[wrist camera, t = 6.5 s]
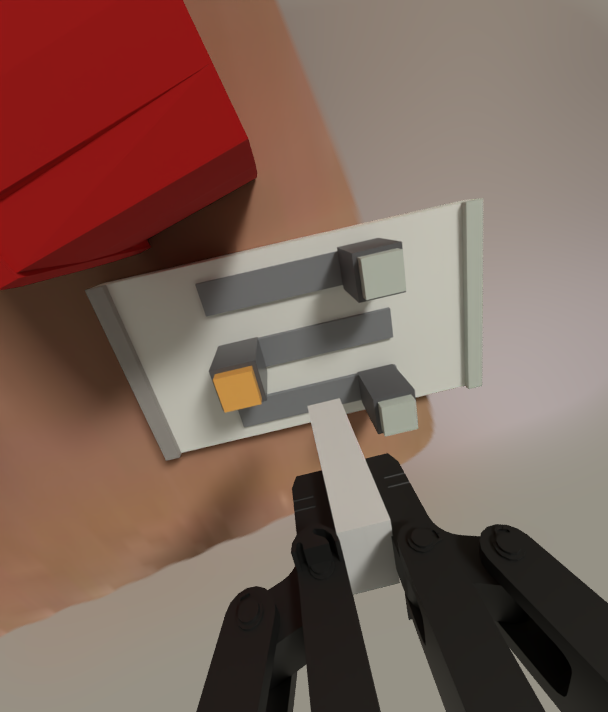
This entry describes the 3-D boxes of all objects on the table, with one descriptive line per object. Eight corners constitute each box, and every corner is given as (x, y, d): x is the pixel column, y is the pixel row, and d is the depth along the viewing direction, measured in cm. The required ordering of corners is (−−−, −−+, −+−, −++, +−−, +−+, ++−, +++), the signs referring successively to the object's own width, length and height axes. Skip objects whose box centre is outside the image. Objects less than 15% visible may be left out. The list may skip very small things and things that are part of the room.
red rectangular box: (-57, -14, 18) (-1051, -728, 4) (106, -127, 17) (-524, -1474, 4) (132, 257, 24) (-42, 306, 11) (260, 185, 24) (249, 137, 10)
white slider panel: (174, 441, 31) (145, 508, 24) (102, 283, 25) (36, 308, 18) (465, 373, 31) (524, 418, 24) (462, 200, 25) (539, 192, 18)
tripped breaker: (230, 380, 26) (221, 417, 21) (218, 345, 25) (206, 376, 20) (267, 371, 26) (267, 406, 21) (257, 336, 25) (254, 365, 20)
